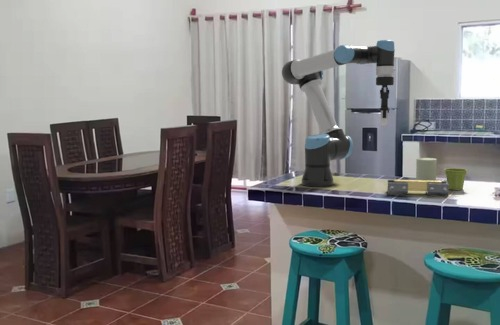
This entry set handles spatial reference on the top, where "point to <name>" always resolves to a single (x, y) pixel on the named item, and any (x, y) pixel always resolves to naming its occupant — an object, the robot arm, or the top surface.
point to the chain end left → (397, 188)
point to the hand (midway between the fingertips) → (383, 124)
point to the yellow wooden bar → (417, 184)
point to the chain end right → (438, 189)
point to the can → (426, 169)
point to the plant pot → (455, 178)
